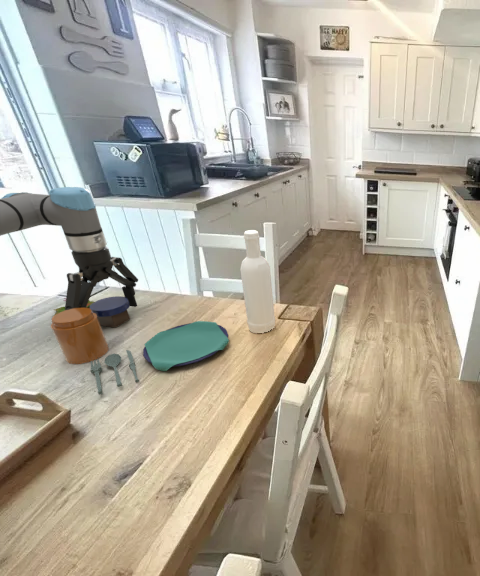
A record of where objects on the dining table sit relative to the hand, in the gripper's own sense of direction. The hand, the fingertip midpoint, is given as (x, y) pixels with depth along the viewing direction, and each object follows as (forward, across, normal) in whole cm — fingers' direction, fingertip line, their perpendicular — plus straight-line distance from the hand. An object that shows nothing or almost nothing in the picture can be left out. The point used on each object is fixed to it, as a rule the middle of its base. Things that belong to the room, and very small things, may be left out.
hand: (113, 316), depth 95 cm
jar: (+2, -14, -6) cm, 15 cm away
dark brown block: (+2, 0, 0) cm, 2 cm away
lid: (-4, 0, 0) cm, 4 cm away
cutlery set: (+2, -10, -25) cm, 27 cm away
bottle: (+2, +8, -42) cm, 43 cm away
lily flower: (+2, +3, +16) cm, 16 cm away
